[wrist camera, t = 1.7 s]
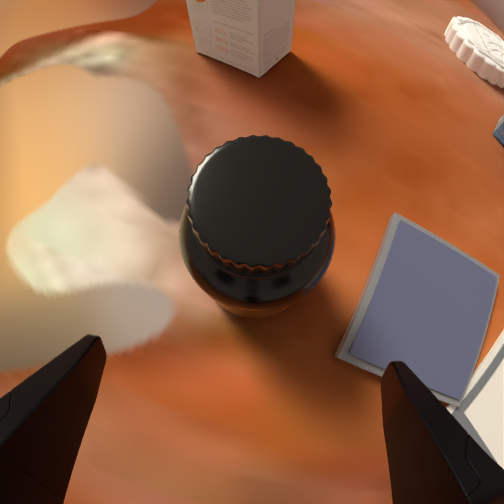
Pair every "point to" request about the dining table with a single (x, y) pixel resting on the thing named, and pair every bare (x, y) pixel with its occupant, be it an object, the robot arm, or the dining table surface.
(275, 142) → the supplement bottle
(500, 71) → the mooncake
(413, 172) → the dining table surface
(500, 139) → the label tape cartridge
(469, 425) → the marked card
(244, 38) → the small box
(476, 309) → the pad
